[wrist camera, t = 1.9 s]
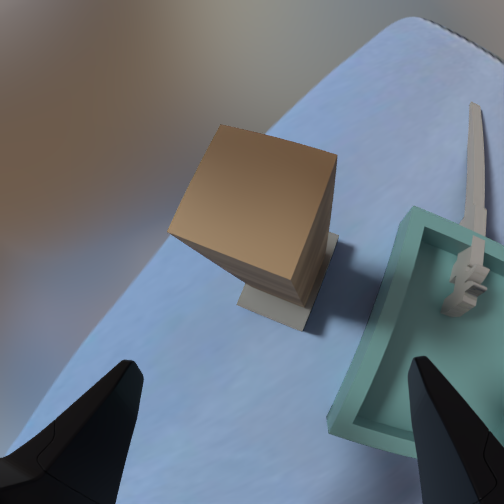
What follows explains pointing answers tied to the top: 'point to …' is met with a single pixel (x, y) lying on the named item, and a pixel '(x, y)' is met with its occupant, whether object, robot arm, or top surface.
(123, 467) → the robot arm
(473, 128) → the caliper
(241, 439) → the top surface
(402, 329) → the tray
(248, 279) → the tall tan wooden block
